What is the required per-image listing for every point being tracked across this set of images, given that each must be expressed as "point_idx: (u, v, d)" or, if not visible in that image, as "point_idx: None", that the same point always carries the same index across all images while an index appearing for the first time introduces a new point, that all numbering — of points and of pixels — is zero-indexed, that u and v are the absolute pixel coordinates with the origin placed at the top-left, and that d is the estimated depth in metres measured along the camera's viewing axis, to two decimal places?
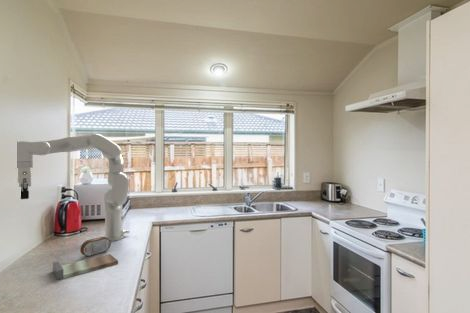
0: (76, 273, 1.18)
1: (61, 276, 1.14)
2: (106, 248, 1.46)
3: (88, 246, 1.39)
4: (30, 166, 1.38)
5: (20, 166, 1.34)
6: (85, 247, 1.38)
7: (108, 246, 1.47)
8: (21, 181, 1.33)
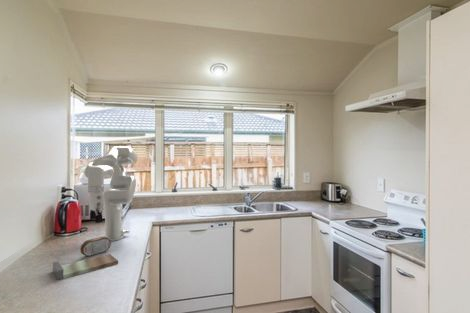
0: (76, 273, 1.18)
1: (61, 276, 1.14)
2: (106, 248, 1.46)
3: (88, 246, 1.39)
4: (102, 190, 1.42)
5: (94, 191, 1.39)
6: (85, 247, 1.38)
7: (108, 246, 1.47)
8: (96, 205, 1.38)
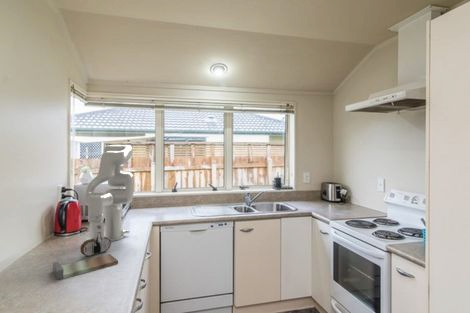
0: (76, 273, 1.18)
1: (61, 276, 1.14)
2: (106, 248, 1.46)
3: (88, 246, 1.39)
4: (102, 219, 1.43)
5: (94, 220, 1.39)
6: (85, 247, 1.38)
7: (108, 246, 1.47)
8: (96, 238, 1.39)
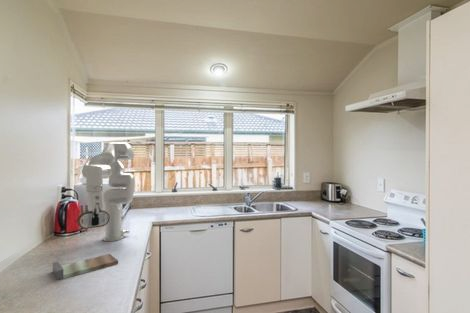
0: (76, 273, 1.18)
1: (61, 276, 1.14)
2: (105, 222, 1.39)
3: (85, 218, 1.33)
4: (101, 190, 1.37)
5: (93, 190, 1.33)
6: (81, 218, 1.32)
7: (107, 220, 1.40)
8: (94, 209, 1.32)
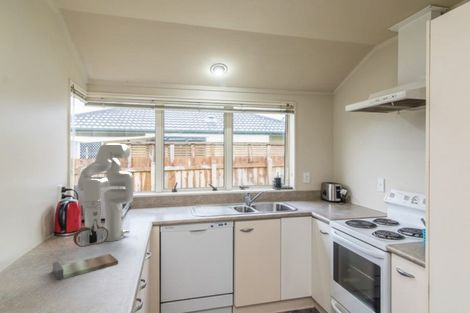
0: (76, 273, 1.18)
1: (61, 276, 1.14)
2: (103, 239, 1.30)
3: (82, 235, 1.24)
4: (99, 205, 1.28)
5: (90, 206, 1.24)
6: (78, 236, 1.23)
7: (105, 237, 1.31)
8: (91, 226, 1.24)
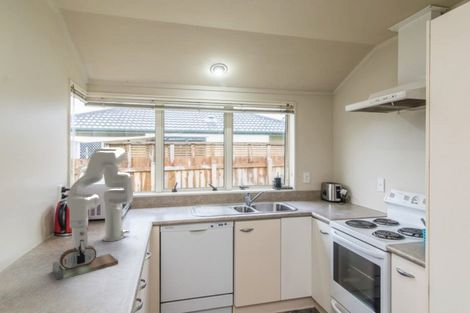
0: (76, 273, 1.18)
1: (61, 276, 1.14)
2: (91, 259, 1.27)
3: (68, 257, 1.20)
4: (86, 224, 1.24)
5: (77, 226, 1.20)
6: (64, 258, 1.19)
7: (93, 257, 1.27)
8: (78, 245, 1.20)
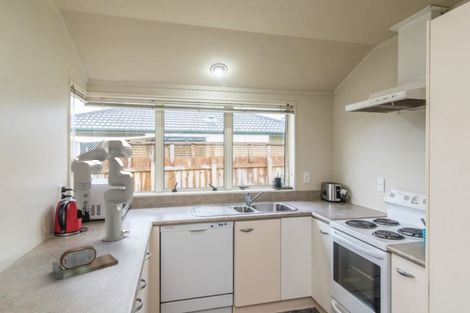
0: (76, 273, 1.18)
1: (61, 276, 1.14)
2: (91, 259, 1.27)
3: (68, 257, 1.20)
4: (89, 187, 1.30)
5: (80, 188, 1.27)
6: (64, 258, 1.19)
7: (93, 257, 1.27)
8: (82, 204, 1.26)
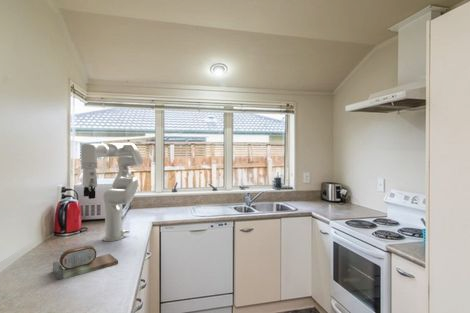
0: (76, 273, 1.18)
1: (61, 276, 1.14)
2: (91, 259, 1.27)
3: (68, 257, 1.20)
4: (95, 167, 1.45)
5: (87, 167, 1.41)
6: (64, 258, 1.19)
7: (93, 257, 1.27)
8: (89, 181, 1.40)
